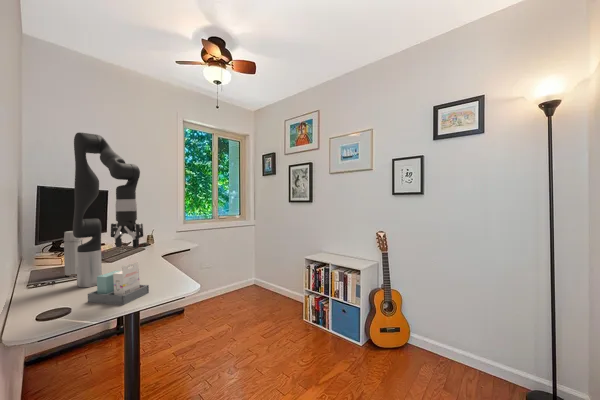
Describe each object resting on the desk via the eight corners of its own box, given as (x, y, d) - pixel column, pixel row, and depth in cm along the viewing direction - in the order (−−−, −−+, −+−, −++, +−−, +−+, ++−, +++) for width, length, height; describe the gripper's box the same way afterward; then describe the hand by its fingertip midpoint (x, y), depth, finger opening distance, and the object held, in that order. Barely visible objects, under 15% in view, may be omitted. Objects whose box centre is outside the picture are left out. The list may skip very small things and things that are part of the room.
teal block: (97, 300, 108) (96, 276, 108) (115, 292, 116) (115, 270, 116) (106, 300, 107) (106, 277, 107) (124, 293, 115) (123, 271, 115)
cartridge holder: (87, 303, 106) (87, 293, 106) (116, 291, 119) (116, 283, 119) (123, 306, 103) (123, 296, 103) (148, 293, 115) (148, 285, 115)
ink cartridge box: (130, 293, 115) (130, 260, 114) (140, 294, 114) (139, 261, 113) (113, 301, 106) (112, 266, 106) (123, 302, 105) (122, 266, 105)
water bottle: (67, 278, 140) (65, 232, 140) (62, 276, 144) (61, 231, 144) (87, 274, 148) (86, 230, 147) (82, 272, 152) (81, 230, 152)
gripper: (104, 210, 108) (105, 248, 108) (133, 210, 105) (134, 249, 105) (120, 209, 115) (120, 245, 115) (147, 209, 112) (148, 246, 113)
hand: (127, 247), depth 110 cm, fingers open, 8 cm apart
